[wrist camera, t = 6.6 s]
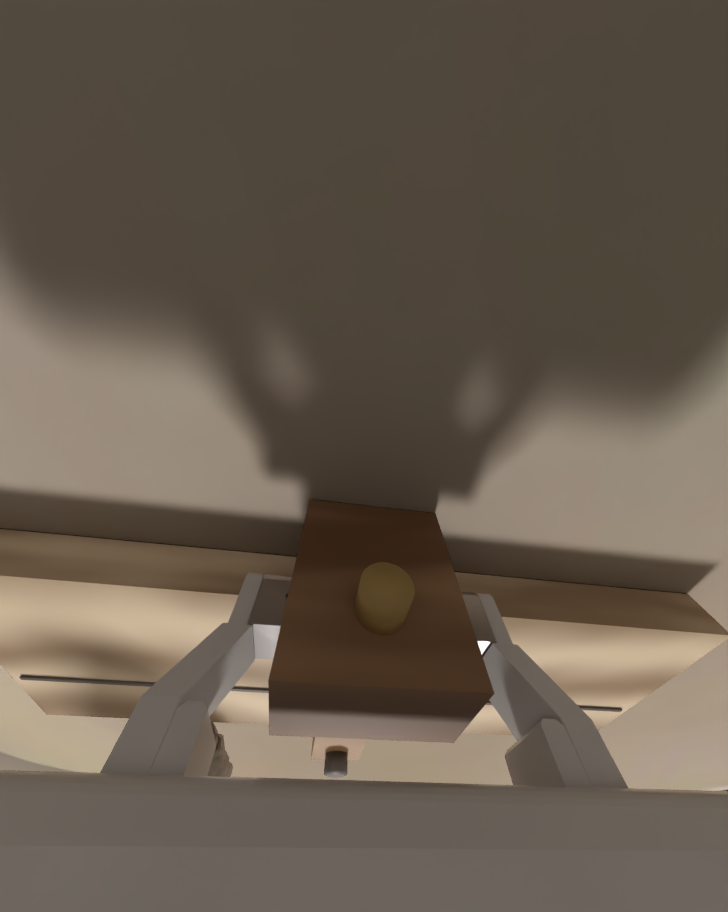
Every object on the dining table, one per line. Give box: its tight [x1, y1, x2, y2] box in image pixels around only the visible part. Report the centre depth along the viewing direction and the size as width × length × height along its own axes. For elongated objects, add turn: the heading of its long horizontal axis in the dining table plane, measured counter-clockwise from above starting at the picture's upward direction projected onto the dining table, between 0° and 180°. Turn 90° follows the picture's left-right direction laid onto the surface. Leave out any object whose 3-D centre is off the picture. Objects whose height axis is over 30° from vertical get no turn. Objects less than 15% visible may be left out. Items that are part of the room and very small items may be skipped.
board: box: [0, 529, 728, 735], centre depth 15 cm, size 12×32×2 cm, turn 81°
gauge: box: [268, 500, 494, 777], centre depth 12 cm, size 13×5×6 cm, turn 171°
